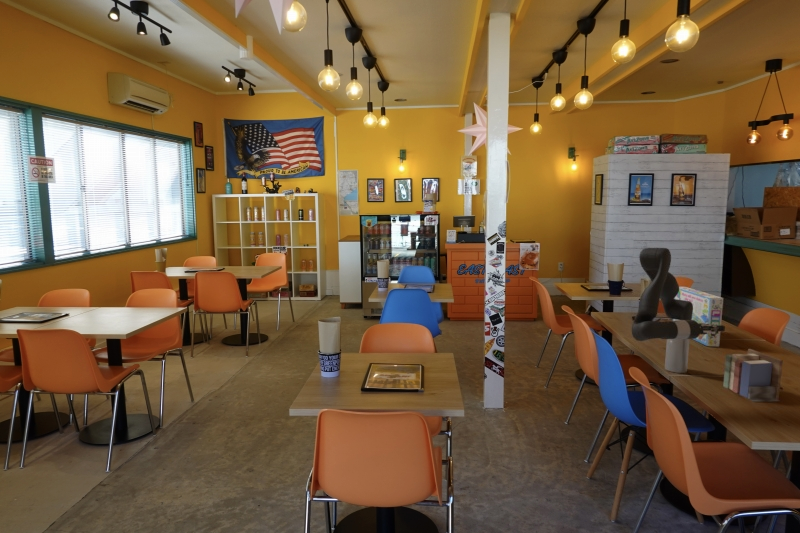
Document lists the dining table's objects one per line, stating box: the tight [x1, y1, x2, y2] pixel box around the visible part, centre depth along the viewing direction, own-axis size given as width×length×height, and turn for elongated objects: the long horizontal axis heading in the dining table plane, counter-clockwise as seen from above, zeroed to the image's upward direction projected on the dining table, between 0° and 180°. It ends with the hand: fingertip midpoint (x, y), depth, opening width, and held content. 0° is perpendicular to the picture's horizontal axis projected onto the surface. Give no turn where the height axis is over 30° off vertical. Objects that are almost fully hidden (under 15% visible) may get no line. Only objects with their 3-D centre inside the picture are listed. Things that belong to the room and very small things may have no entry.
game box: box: [672, 286, 724, 347], centre depth 306 cm, size 40×7×27 cm, turn 178°
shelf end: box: [722, 348, 784, 403], centre depth 217 cm, size 12×18×16 cm, turn 6°
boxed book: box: [739, 360, 772, 399], centre depth 214 cm, size 10×4×14 cm, turn 99°
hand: (723, 328), depth 212 cm, fingers closed
